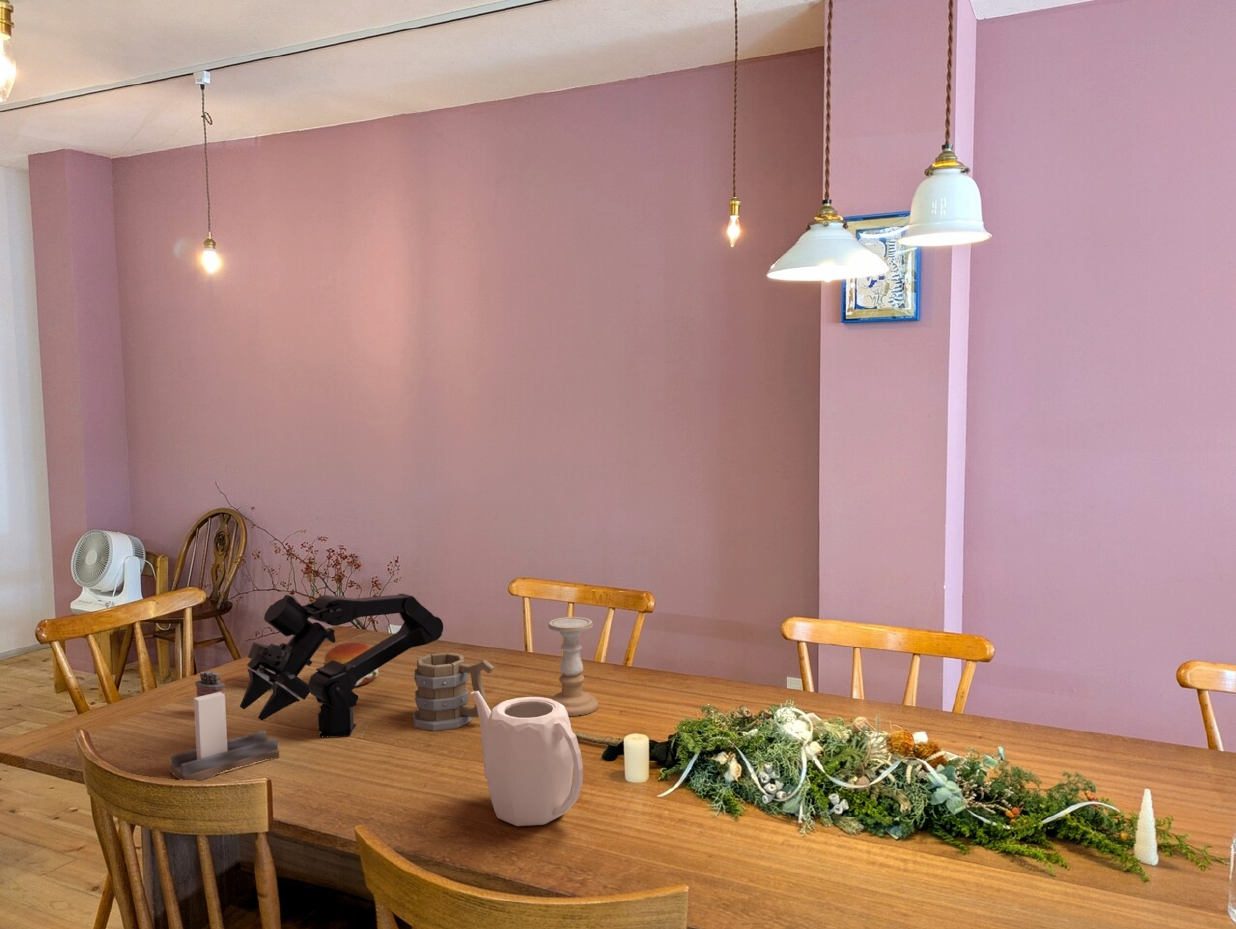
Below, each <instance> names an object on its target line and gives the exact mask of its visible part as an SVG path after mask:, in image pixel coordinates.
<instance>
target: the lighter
mask: <svg viewBox="0 0 1236 929" xmlns="http://www.w3.org/2000/svg"><path fill="white" fill-rule="evenodd" d="M199 678H200V679H198V680H197V681H195V686H196V697H200V696H204V695H209V694H213V693H217V692H221V693H223V694H225V691H224V690H225V689H224V688H225V683H224V682H222V681H221V680H222V677H221V674H219V673H217V672H213V670H209V671H201V672H200V673H199Z"/></svg>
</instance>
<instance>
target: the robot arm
mask: <svg viewBox="0 0 1236 929" xmlns="http://www.w3.org/2000/svg"><path fill="white" fill-rule="evenodd" d="M392 614H399V616H400V619H401V620H402V621H403V624H402V625H401V627H400V628H399V630H398V631H397V632H396V633H393V634H392V635H390V636H388V637H387V638H386V639H384V640H382V641H380V642H379V643H377V644H375V645H374V646H371V648H370V649H368V650H367V651H365V652H363V653H362V654H360V655H358V656H357V657H355V658H353V659H352V660H350V661H348V662H347V663H344V664H342V663H339V662H337V661H334V660H332V661H330V662H328V663H327V664H326V665H325V664H324V665H325V666H324V665H323V666H320V667H318V668H316V669H315V670H316V672H313V674H312V675H311V676H310V678H309V681H308V683H306V682H305V681H304V680H303V679H302V678H300V677H299V674H300V673H301V672H302V670H303V669H304V668H305V666H308V667H310V666H311V665H312V664H313V661H312V660H311V659H312V657H313V656H314V654H315V653H317V651H318V649H319V648H320V647H321V645H322V644H323V643H324V642H325V641H327V642H330V643H332V644H334V643H335V642H336V637H335V629H333V628H331V627H332V626H333V627H335V626H336V627H337V626H341V625H343V624H349V623H351V622H352V621H354V620H355V619H360V618H362V617H363V618H365V617H372V616H382V615H392ZM263 619H264V621H265V623H268V624H269V625H270V626H271V627H273V628H274V630H276V631H278V632H279V633H280V634H282V635H283V636H285V637H291V636H292V637H291V639H290V640H289V641H288V642H286V643H284V642H282V643H280V644H279V645H278V644H277V645H275V644H274V643H270V644H269V645H267V644H264V643H263V644H262V643H259V642H253V643H252V645H251V648H250V650H249V653H248V655H247V658H249V659H250V658H252V660H251V661H250V660H249V662H248V664H247V665H246V666H247V667H248V668H247V672H248V674H249V675H248V676H249V682H248V685H247V688H246V690H245V692H244V696H243V697H242V699H241V703H240V704H239V707H240V708H241V709H243V710H245V709H247V708H248V707H250V706H251V705H252V704H253V703H255V702H257V701H258V699H259V698H261V697H262V696H263V695H265V694H266V693H267V692H268V691H269V690H271V689H272V693H271V695H270V696H269V698H268V700H267V701H266V702H265V704H264V706H263V708H262V709H261V711H260V713H259V714H258V717H257V719H259V720H260V721H265V720H266V719H268V718H269V717H271V716H273V715H274V714H276V713H278V712H279V711H281V710H284V709H285V708H287V707H289V706H290V705H292V704H295V703H296V702H297V703H298V702H299V703H300V700H301V699H302V700H303V701H305V700H306V699H307V697H308V696H309V694H311V695H312V696H313V697H315V699H316V701H317V703H319V704H320V703H321V705H320V706H319V707H320V710H319V712H318V714H317V720H318V722H317V723H318V725H317V726H318V732H319V734H318V737H319V736H320V737H319V738H332V737H331V736H341V737H349V735H350V734H352V733H353V731H354V730H355V728H356V727H357V724H356V723H355V719H354V707H356V706H357V704H358V700H359V695H358V694H357V693H355V692H354V688H355V687H356V686H355V685H356V683H357V682H358V681H359V680H360V679H361V678H363V677H365V676H366V675H368V674H369V673H371V672H373V671H374V670H376V669H377V668H378V669H379V668H381V667H382V666H384V665H386V664H388V663H389V662H391V661H392V660H394V659H395V658H397V657H399V656H400V655H401V654H403V653H405V652H407V651H409V649H413V648H417V647H422V646H426V645H428V644H431V643H433V642H436V641H438V640H439V639H440V638H441V637H442V636H443V631H444V623H443V621H442V619H441V618H440V617H438V616H437V615H436V616H435V615H434V614H433V613H432V612H431V611H430V610H428V609H427V608H426V607H425V606H424V605H422V604H421V603H420V602H419V600H417V598H415V596H413V595H410V594H406V593H398V594H391V595H382V596H381V595H380V596H368V597H358V598H357V597H355V598H353V597H352V598H351V597H344V596H336V595H329V594H323V595H319V596H318V597H317V598H316V599H315V601H312V602H310V603H307V604H304V605H301V604H300V603H298V601H297V600H296V599H295V598H294V597H293V596H291V595H290V594H285V595H283V597H282V598H280V599H278V600H276V601H275V602H274V603H273V604H271V605H270V606H269V607H268V608H267V610H266V611H265V613H264V618H263ZM309 619H311V620H314V621H315V622H311V621H310V620H309ZM316 621H317V622H316ZM320 622H321V623H323V624H327V625H329V626H331V627H328V628H326V627H324V626H323V625H322V624H321V623H320ZM250 668H251V669H252V670H250ZM268 681H270V682H272V683H273V685H272V684H270V683H269V682H268ZM276 681H277V682H279V683H280V684H281V685H278V684H276V683H275V682H276ZM299 698H300V699H299ZM322 736H323V737H322ZM327 736H328V737H327ZM329 736H330V737H329ZM350 736H351V735H350Z"/></svg>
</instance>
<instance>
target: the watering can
mask: <svg viewBox="0 0 1236 929" xmlns="http://www.w3.org/2000/svg"><path fill="white" fill-rule="evenodd" d="M470 694H471V696H472V698H473V699H474V702H475V705H476V706H477V711H478V715H479V717H478V718H479V727H480V737H481V738H480V740H481V746H482V747H481V748H482V759H483V769H484V778H485V779H486V781H487V788H488V794H489V797H490V799H491V800H490V801H491V803H492V807H493V810H494V813H495V815H496V818H498V820H499V819H500V820H501V821H504V822H506V823H508V824H510V825H511V824H512V825H514V826H516V827H526V826H542V825H547V824H548V823H550V822H552V821H554V820H556V819H558V818H559V817H562V816H563V815H564V814H565V813H566V812H568V811H569V810H570V809H571V808H572V807H573V806H574V805H575V803H576V802H577V801H578V800H579V797H580V793H581V789H582V787H583V782H584V781H583V779H584V767H583V766H584V765H583V760H582V753H581V752H582V751H581V749H580V745H579V740H578V738H577V735H576V734H575V733H574V732H573V730H572V725H571V721H570V716H568V713H567V711H566V709H565V707H564V705H562V704H560V703H559V702H557V701H554V700H552V699H550V698H547V697H542V696H525V697H515V698H512V699H507V700H503V701H501V702H500V703H498V704H497V705H495V706H494V707H492V710H491V708H490V707H489V705H488V704H487V701H486V702H485V700H484V699H483V697H482V696H481V694H480V692H479V691H474V690H473V691H471V692H470Z"/></svg>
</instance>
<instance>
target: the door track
mask: <svg viewBox="0 0 1236 929" xmlns="http://www.w3.org/2000/svg"><path fill="white" fill-rule="evenodd" d="M227 749H228V751H226V752H223V753H219V754H215V755H212V756H208V757H205V758H201V759H197V751H196V748H195V749H191V750H188V751H185V752H180V753H177V754H172V755H170V757H171V760H170V761H171V762H170V763H171V764H170V772H171V771H172V773H174V775H175V776H174V777H175V778H177V779H178V780H179V779H183V780H200V781H202V780H206V779H205V778H207V779H210V778H212V777H211V776H213V775H215V774H217V773H220V772H223V771H225V770H230V769H232V768H236V767H240V766H245V765H249V764H252V763H254V762H258V761H262V760H265V759H271V758H275V757H278V756H279V757H280V750H279V748H278V739H277V738H276V737H274V738H270V739H267V732H266V731H265V730H261V731H258V732H255V733H251V734H246V735H244V736H240V737H239V736H238V737H235V738H231V739H229V740H228V739H227ZM279 757H278V758H279ZM275 759H276V758H275ZM172 773H171V774H172ZM209 777H210V778H209Z"/></svg>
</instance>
